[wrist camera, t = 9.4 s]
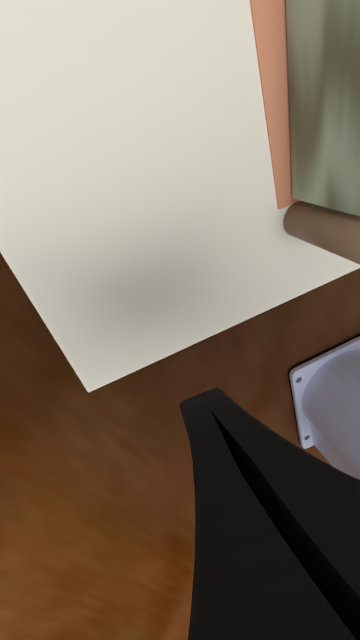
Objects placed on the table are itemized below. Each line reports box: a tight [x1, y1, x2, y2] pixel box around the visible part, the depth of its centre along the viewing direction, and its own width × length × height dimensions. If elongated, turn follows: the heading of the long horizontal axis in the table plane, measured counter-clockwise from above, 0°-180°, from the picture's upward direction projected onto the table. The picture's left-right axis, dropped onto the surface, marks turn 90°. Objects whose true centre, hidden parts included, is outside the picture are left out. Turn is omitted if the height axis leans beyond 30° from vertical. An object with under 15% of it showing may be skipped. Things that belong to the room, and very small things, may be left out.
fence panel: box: [286, 0, 360, 216], centre depth 14 cm, size 11×1×5 cm, turn 12°
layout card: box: [0, 0, 360, 393], centre depth 15 cm, size 18×29×6 cm, turn 107°
